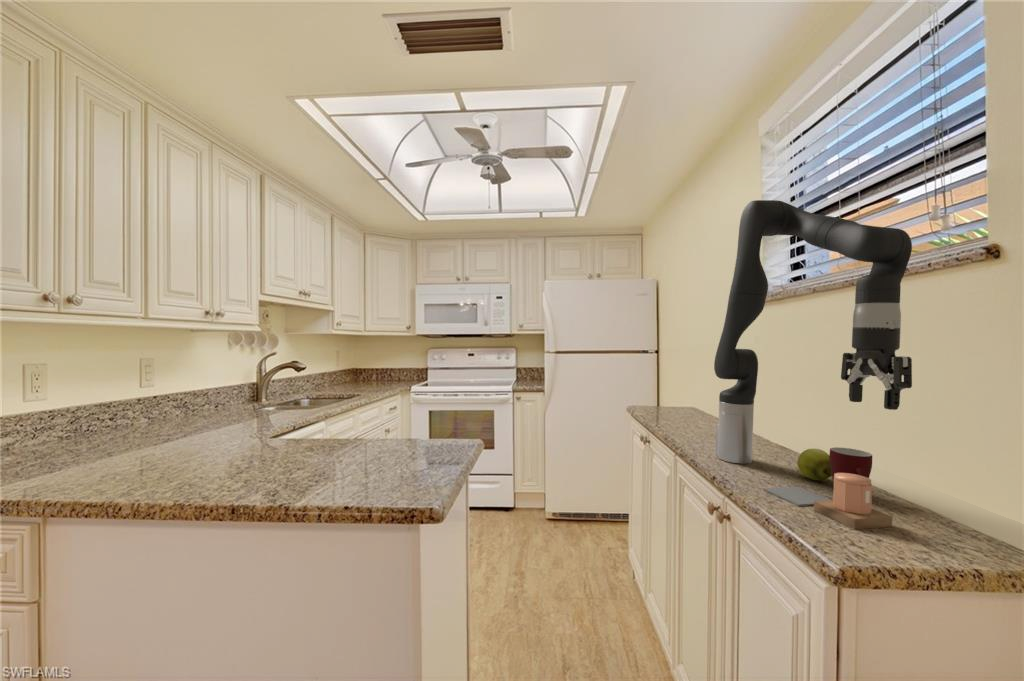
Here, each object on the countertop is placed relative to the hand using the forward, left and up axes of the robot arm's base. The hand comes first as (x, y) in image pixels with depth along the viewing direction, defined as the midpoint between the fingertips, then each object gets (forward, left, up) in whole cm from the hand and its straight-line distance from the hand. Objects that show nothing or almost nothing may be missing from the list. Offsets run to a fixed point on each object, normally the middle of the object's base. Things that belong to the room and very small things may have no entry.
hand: (872, 405), depth 89 cm
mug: (-12, +10, -24) cm, 28 cm away
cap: (-1, -3, -21) cm, 22 cm away
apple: (-23, +11, -24) cm, 34 cm away
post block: (-1, -3, -23) cm, 24 cm away
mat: (-13, -4, -23) cm, 27 cm away
